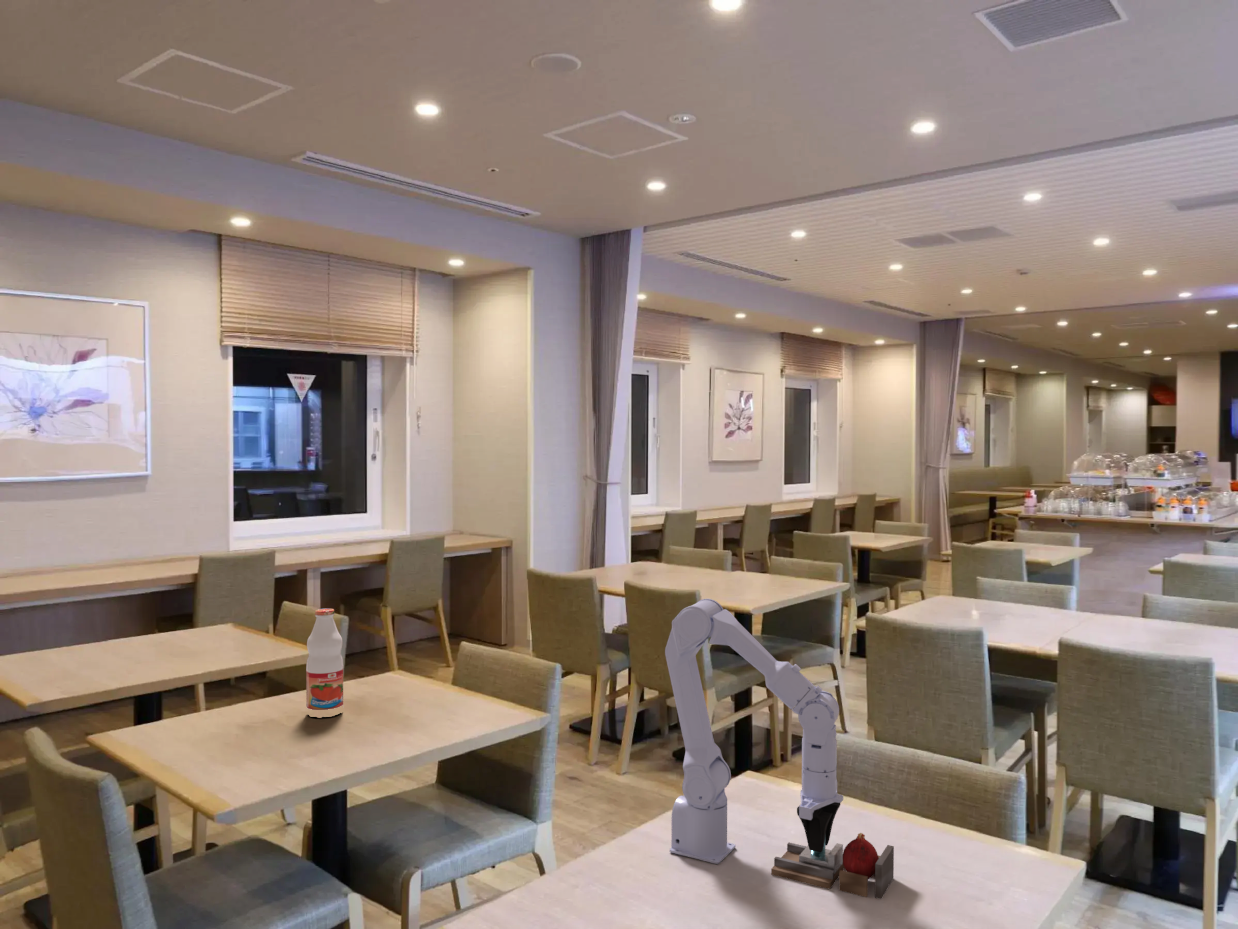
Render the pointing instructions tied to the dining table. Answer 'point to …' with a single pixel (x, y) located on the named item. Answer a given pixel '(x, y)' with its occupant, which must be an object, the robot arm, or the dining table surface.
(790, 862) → the frame
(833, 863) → the ram
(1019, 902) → the dining table surface
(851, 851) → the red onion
